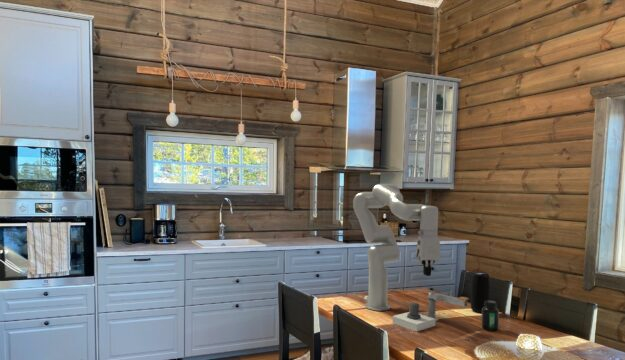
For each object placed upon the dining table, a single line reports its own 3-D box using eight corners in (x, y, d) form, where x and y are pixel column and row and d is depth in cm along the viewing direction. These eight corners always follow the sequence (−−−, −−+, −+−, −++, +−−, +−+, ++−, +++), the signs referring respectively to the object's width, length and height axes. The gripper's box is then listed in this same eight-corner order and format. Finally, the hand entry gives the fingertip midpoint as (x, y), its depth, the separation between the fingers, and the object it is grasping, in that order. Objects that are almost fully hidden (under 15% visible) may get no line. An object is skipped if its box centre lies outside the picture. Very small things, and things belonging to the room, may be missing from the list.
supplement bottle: (495, 332, 176) (495, 304, 176) (479, 328, 181) (479, 301, 181) (500, 329, 181) (501, 301, 181) (485, 325, 186) (485, 298, 186)
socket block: (392, 325, 182) (393, 302, 183) (422, 316, 196) (423, 295, 196) (416, 333, 172) (416, 309, 172) (446, 324, 185) (447, 301, 186)
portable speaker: (467, 311, 207) (468, 272, 207) (475, 307, 213) (475, 269, 214) (484, 315, 201) (485, 274, 201) (491, 311, 207) (492, 272, 208)
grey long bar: (465, 307, 176) (465, 299, 176) (426, 298, 189) (426, 290, 190) (468, 305, 179) (469, 298, 179) (430, 296, 192) (430, 289, 192)
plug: (404, 323, 182) (405, 303, 182) (412, 321, 185) (413, 301, 185) (414, 327, 177) (415, 306, 177) (422, 324, 181) (423, 304, 181)
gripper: (419, 235, 176) (417, 277, 176) (447, 234, 181) (446, 276, 181) (409, 232, 183) (407, 274, 183) (437, 232, 188) (435, 272, 188)
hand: (427, 275), depth 182 cm, fingers closed
